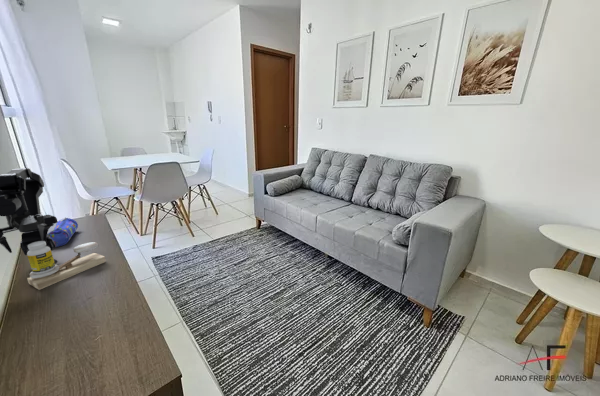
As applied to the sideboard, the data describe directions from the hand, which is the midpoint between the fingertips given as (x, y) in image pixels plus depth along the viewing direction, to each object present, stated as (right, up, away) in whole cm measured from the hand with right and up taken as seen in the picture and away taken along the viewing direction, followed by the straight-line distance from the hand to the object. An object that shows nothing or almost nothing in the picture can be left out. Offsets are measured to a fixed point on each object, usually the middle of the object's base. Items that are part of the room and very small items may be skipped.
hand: (28, 247), depth 95 cm
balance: (+9, -11, +7) cm, 17 cm away
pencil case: (-20, -3, +37) cm, 42 cm away
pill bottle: (+6, -9, 0) cm, 11 cm away
